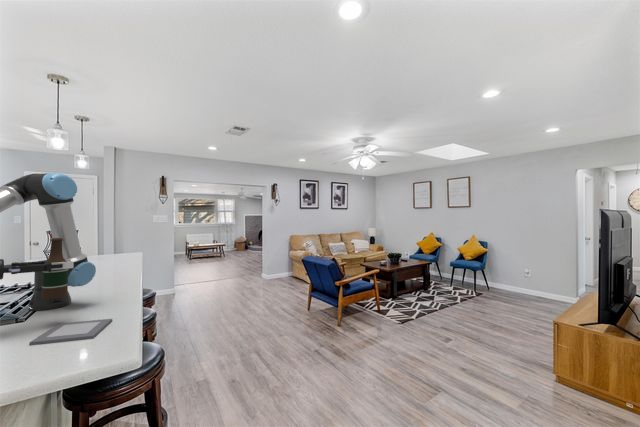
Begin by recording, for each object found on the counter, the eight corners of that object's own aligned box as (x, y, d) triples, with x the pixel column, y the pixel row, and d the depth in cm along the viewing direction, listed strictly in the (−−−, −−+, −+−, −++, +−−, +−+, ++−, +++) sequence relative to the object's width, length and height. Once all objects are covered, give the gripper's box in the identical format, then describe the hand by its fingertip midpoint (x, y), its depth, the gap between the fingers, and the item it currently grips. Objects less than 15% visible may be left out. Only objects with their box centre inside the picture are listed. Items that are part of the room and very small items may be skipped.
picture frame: (59, 325, 111) (59, 323, 111) (112, 320, 117) (112, 318, 117) (29, 345, 94) (29, 342, 94) (93, 338, 100) (93, 335, 100)
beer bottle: (50, 300, 108) (53, 238, 109) (35, 298, 110) (38, 238, 110) (72, 295, 116) (74, 237, 116) (58, 293, 117) (60, 237, 118)
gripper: (-12, 276, 106) (68, 269, 123) (-16, 285, 93) (75, 275, 110) (-11, 257, 106) (69, 252, 123) (-15, 263, 93) (75, 257, 110)
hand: (71, 263), depth 117 cm, fingers closed on beer bottle, 7 cm apart
